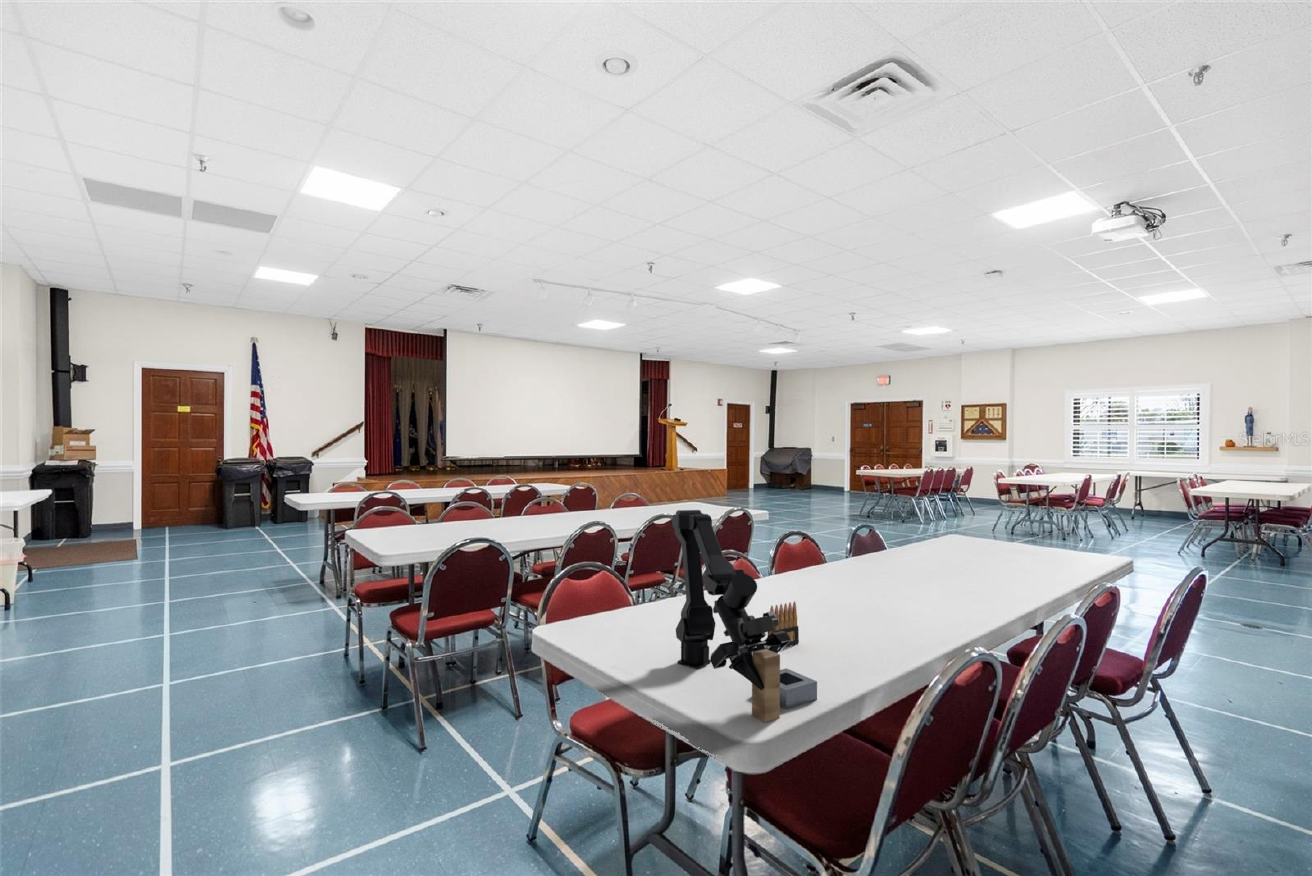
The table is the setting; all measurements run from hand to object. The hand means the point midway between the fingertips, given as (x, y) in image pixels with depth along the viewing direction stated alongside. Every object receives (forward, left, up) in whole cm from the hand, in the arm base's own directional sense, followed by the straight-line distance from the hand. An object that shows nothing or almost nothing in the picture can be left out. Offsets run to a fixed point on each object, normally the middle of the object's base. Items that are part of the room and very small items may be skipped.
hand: (770, 686), depth 126 cm
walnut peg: (-1, 0, -7) cm, 7 cm away
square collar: (-2, +12, -7) cm, 14 cm away
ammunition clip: (-18, +44, -7) cm, 49 cm away
